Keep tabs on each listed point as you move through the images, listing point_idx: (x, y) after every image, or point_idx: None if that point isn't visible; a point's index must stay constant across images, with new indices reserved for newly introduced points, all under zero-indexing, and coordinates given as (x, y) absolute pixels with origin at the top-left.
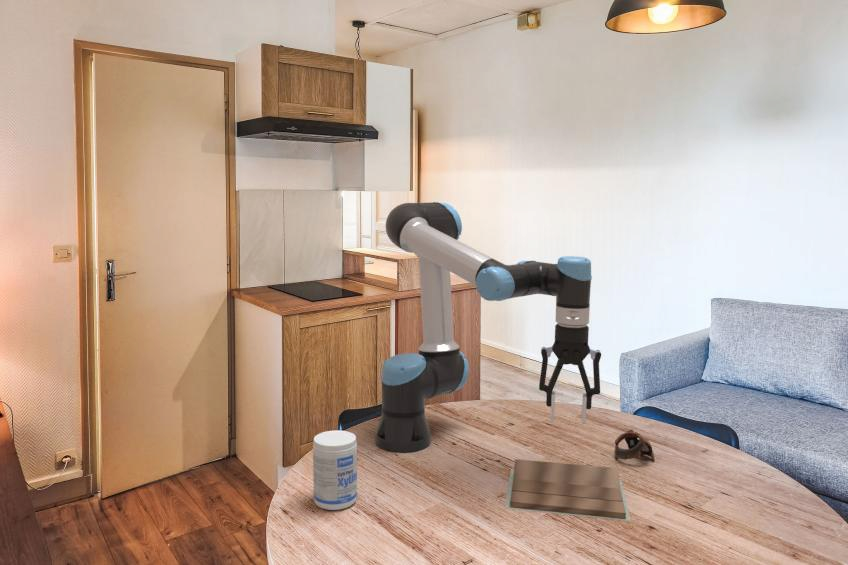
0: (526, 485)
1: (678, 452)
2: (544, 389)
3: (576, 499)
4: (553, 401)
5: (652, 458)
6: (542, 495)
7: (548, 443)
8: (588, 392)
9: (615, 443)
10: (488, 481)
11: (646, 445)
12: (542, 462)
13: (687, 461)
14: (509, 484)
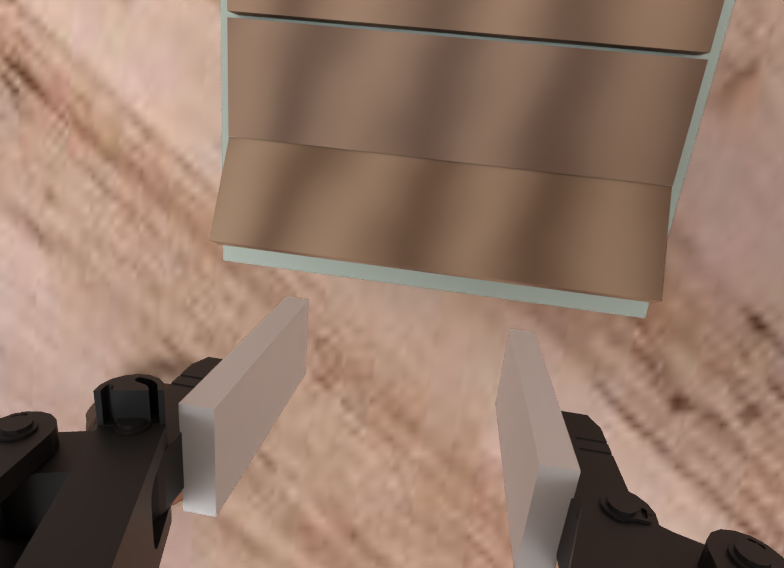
0: (623, 121)
1: None
2: (686, 554)
3: (418, 2)
4: (543, 416)
5: None
6: (567, 22)
7: (448, 542)
8: (130, 437)
9: None
10: (767, 212)
11: (86, 428)
12: (531, 277)
13: None
14: (681, 176)
